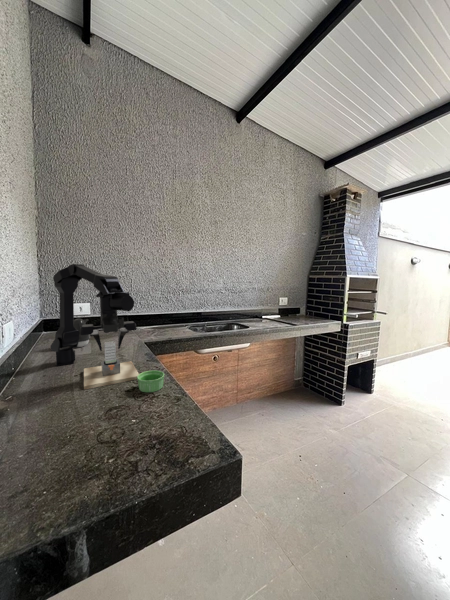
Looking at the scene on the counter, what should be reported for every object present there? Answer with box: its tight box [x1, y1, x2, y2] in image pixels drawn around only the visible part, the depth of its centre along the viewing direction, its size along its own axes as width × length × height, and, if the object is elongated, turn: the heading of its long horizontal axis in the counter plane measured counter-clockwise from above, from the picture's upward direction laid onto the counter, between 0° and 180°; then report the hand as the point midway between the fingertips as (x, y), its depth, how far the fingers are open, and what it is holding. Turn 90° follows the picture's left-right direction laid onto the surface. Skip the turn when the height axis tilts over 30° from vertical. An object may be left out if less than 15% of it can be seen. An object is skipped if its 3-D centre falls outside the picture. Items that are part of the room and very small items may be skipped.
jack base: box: [83, 358, 140, 390], centre depth 92 cm, size 18×18×5 cm
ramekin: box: [136, 369, 165, 393], centre depth 82 cm, size 9×9×4 cm
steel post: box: [103, 340, 117, 364], centre depth 92 cm, size 4×4×7 cm
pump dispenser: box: [74, 318, 91, 348], centre depth 130 cm, size 10×10×15 cm
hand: (110, 349), depth 92 cm, fingers open, 6 cm apart
